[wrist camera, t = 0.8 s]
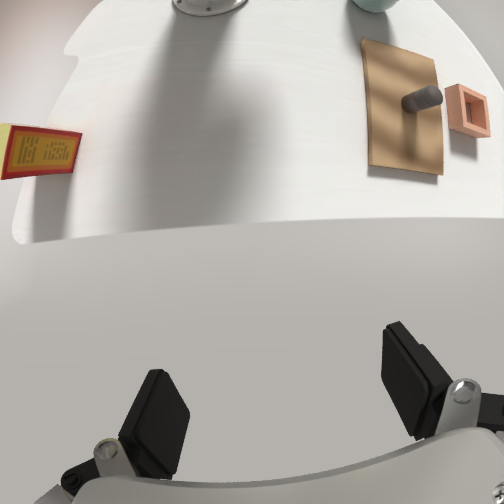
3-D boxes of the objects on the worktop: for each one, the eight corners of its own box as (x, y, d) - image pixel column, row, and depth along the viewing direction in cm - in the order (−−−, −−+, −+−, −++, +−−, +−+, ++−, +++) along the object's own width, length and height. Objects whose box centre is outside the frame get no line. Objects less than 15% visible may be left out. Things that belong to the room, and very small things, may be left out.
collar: (444, 88, 30) (458, 83, 26) (472, 100, 29) (486, 96, 26) (448, 128, 32) (463, 126, 28) (476, 137, 31) (490, 137, 28)
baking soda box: (38, 162, 34) (-29, 168, 19) (46, 127, 33) (-20, 121, 17) (72, 172, 35) (0, 180, 20) (82, 133, 33) (10, 125, 18)
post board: (360, 42, 29) (381, 18, 20) (429, 62, 28) (457, 47, 20) (368, 164, 34) (396, 163, 26) (437, 175, 34) (471, 178, 26)
